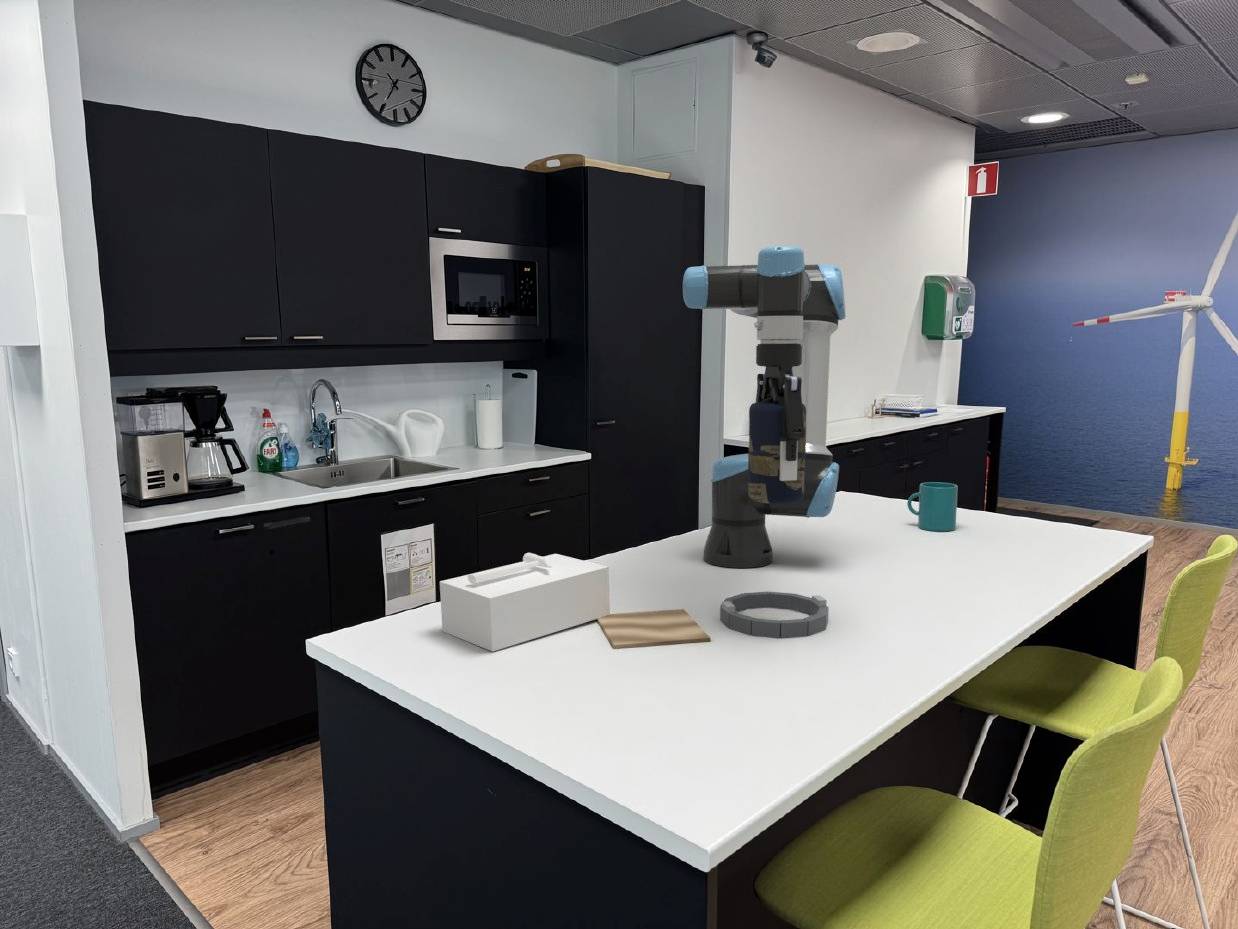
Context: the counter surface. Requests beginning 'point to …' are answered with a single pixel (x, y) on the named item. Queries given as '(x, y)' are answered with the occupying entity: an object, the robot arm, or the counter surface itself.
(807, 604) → the collar
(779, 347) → the robot arm
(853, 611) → the counter surface
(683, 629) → the mat
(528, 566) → the tissue box
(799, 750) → the counter surface
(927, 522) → the cup
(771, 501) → the canister
